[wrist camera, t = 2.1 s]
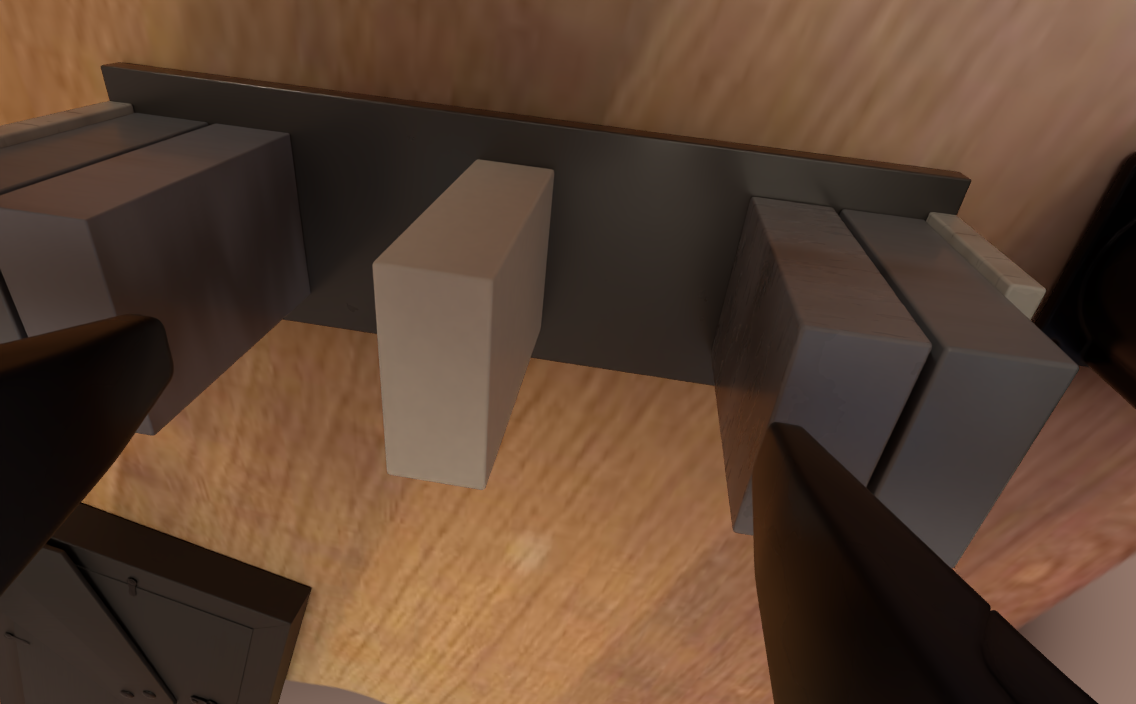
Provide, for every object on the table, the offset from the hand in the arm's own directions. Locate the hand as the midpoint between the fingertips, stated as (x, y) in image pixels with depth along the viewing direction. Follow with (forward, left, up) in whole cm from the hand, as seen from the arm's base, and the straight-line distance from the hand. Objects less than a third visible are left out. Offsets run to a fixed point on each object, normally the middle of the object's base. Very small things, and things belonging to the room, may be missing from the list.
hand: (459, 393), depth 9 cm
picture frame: (-31, +21, -12) cm, 39 cm away
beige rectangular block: (-3, +1, -11) cm, 12 cm away
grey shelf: (-3, +1, -12) cm, 12 cm away
